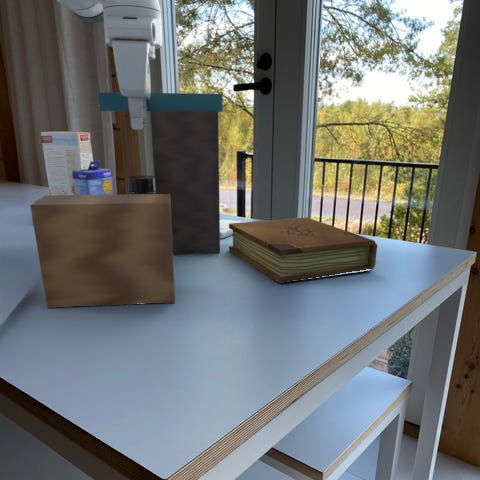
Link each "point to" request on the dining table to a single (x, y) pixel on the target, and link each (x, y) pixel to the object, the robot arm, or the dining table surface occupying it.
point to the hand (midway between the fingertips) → (139, 128)
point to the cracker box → (65, 158)
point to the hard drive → (226, 228)
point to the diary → (301, 248)
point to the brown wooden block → (105, 249)
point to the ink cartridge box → (93, 180)
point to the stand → (189, 176)
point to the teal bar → (165, 102)
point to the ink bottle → (141, 185)
